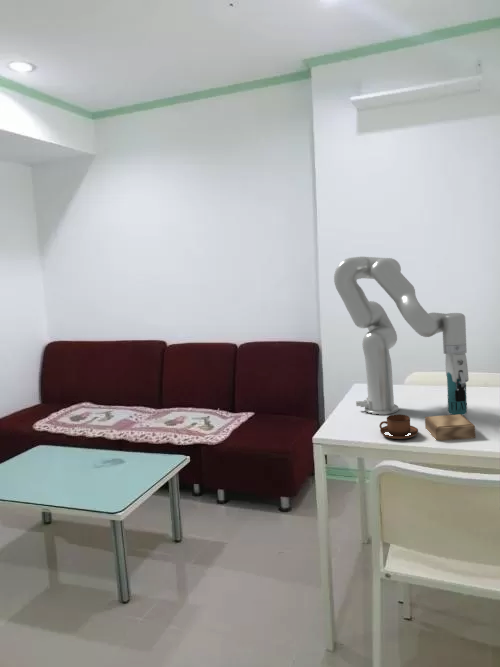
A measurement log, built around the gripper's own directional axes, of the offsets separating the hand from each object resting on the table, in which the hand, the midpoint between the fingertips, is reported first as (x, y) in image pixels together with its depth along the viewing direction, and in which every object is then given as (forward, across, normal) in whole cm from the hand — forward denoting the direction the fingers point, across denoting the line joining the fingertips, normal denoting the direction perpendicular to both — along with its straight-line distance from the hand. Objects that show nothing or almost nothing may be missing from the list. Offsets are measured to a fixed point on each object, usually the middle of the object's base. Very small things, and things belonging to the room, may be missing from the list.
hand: (456, 398), depth 181 cm
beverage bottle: (+7, 0, 0) cm, 7 cm away
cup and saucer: (+7, -15, +24) cm, 29 cm away
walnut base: (+7, -16, +8) cm, 19 cm away
